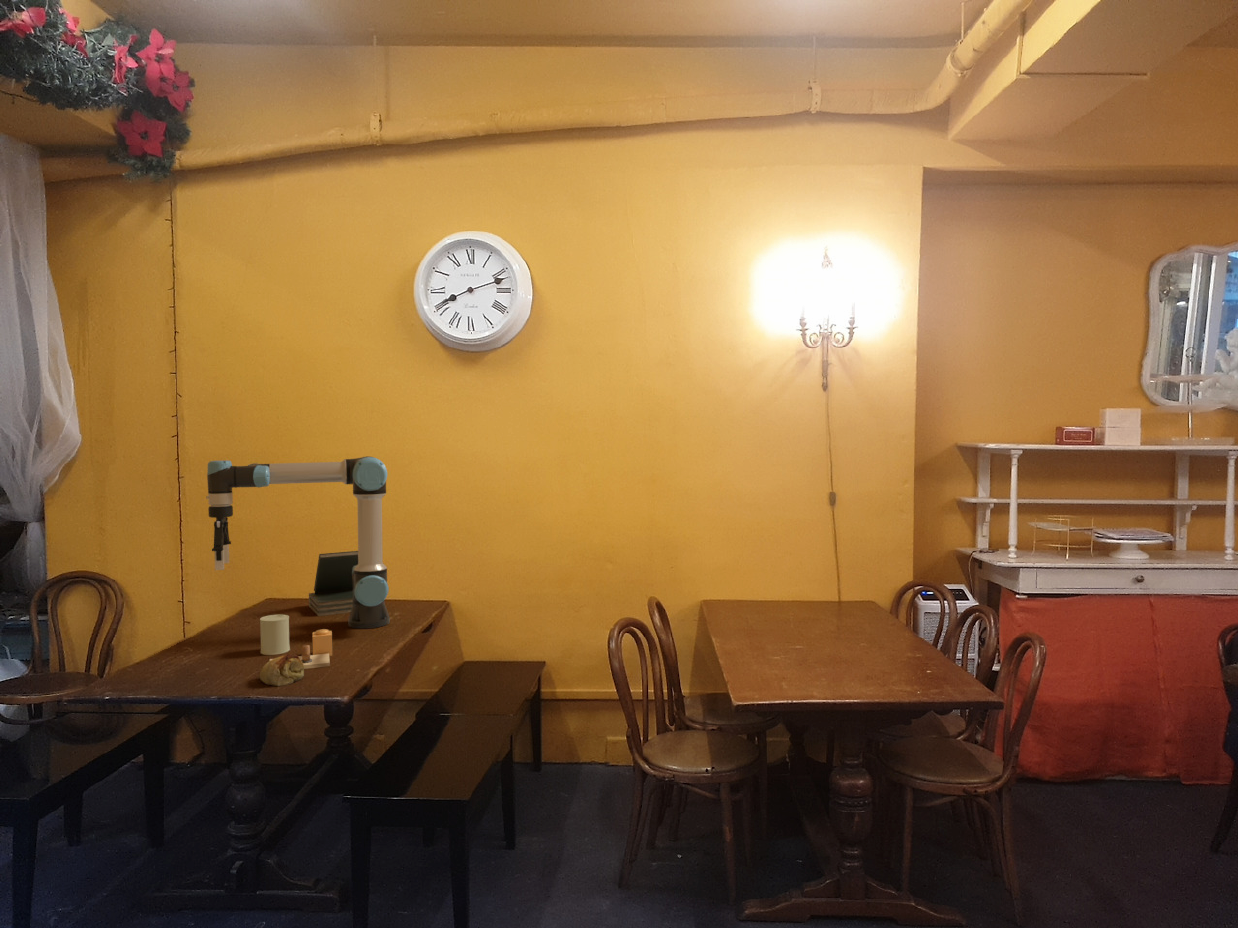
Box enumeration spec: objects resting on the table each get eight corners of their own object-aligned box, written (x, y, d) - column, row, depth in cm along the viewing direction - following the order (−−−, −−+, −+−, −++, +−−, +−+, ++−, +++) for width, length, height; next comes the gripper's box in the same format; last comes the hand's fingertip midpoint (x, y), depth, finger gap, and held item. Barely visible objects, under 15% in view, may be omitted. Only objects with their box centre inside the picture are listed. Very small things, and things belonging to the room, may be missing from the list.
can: (296, 648, 274) (295, 614, 273) (276, 656, 265) (275, 620, 264) (274, 646, 277) (273, 612, 276) (254, 653, 268) (253, 618, 267)
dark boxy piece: (364, 601, 348) (363, 544, 347) (375, 610, 331) (374, 550, 330) (309, 607, 337) (307, 548, 335) (317, 617, 320) (316, 555, 318)
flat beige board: (329, 656, 264) (328, 638, 263) (329, 666, 253) (329, 646, 253) (269, 662, 257) (269, 643, 257) (267, 672, 247) (267, 652, 247)
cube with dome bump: (332, 651, 271) (331, 627, 270) (332, 655, 265) (331, 631, 265) (313, 652, 268) (312, 629, 268) (313, 657, 263) (312, 633, 262)
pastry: (296, 686, 234) (295, 659, 234) (252, 687, 233) (251, 660, 233) (311, 671, 248) (310, 646, 248) (269, 672, 247) (269, 647, 247)
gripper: (213, 502, 285) (215, 561, 286) (202, 509, 262) (204, 573, 263) (236, 501, 288) (238, 560, 289) (227, 508, 264) (229, 571, 265)
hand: (222, 566), depth 276 cm, fingers open, 13 cm apart
